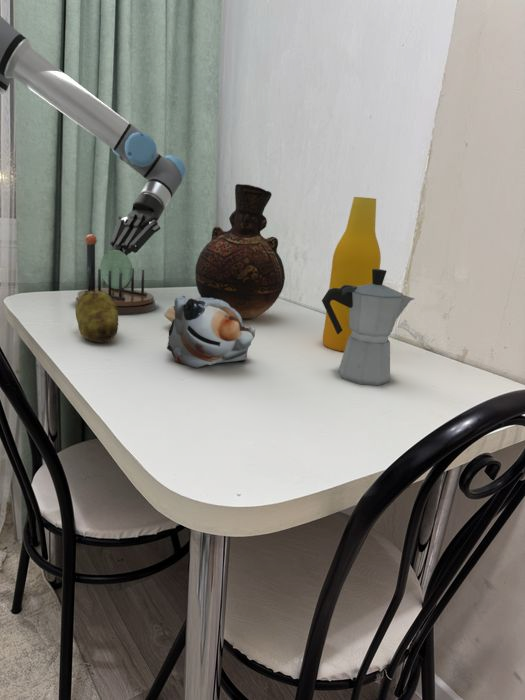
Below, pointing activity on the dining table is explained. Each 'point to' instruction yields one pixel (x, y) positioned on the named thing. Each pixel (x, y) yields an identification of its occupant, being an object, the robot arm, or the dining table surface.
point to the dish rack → (114, 277)
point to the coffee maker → (367, 328)
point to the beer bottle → (352, 265)
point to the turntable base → (133, 308)
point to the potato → (97, 316)
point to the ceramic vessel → (242, 258)
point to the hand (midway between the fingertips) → (109, 269)
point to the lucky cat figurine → (207, 332)
